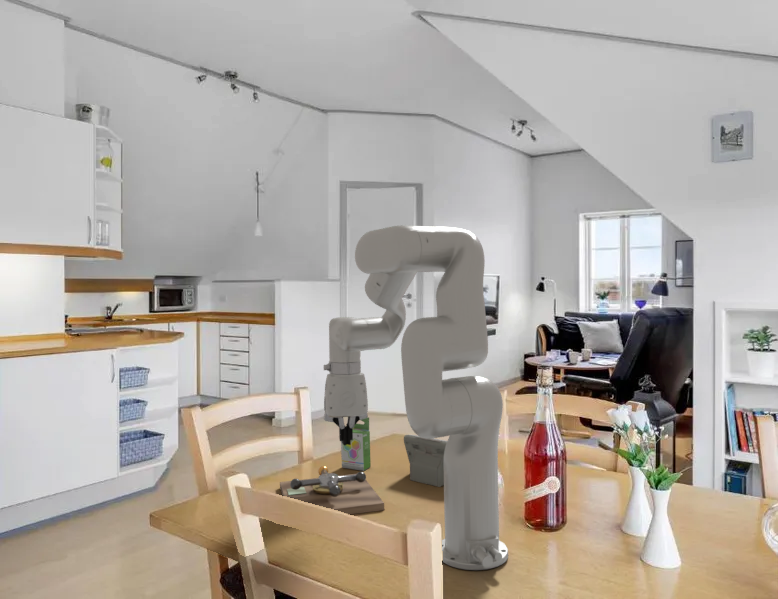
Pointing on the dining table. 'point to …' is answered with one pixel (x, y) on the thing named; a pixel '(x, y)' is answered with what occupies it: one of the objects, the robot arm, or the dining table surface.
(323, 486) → the capstan
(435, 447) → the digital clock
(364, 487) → the stand
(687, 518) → the dining table surface
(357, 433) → the ink box
